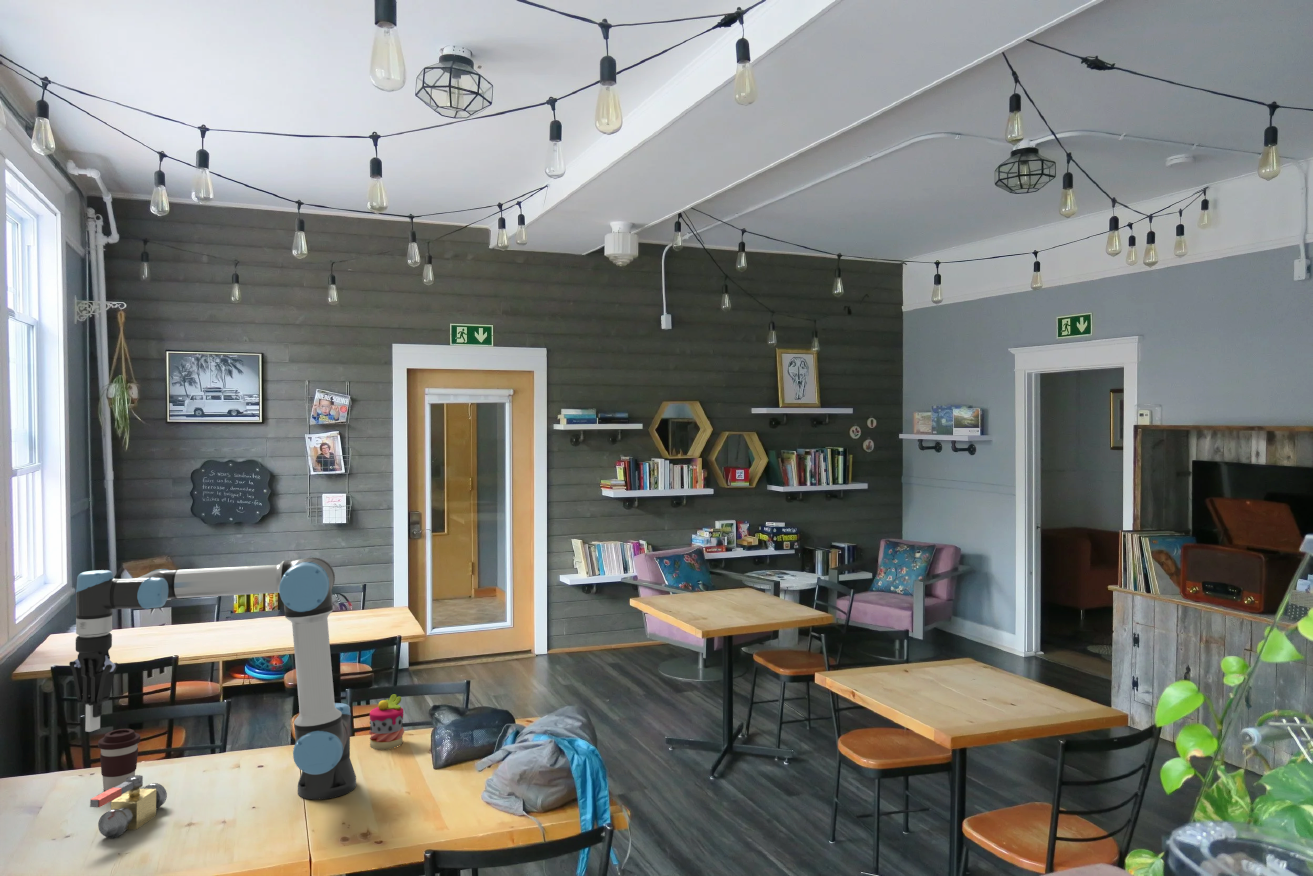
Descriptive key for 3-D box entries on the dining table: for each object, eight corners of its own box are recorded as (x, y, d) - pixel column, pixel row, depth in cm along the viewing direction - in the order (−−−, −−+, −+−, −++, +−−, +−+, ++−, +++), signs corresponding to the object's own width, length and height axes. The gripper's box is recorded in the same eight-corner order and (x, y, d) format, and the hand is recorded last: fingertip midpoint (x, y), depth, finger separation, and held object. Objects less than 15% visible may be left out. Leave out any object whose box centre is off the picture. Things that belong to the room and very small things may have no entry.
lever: (132, 783, 216) (132, 774, 216) (145, 784, 216) (146, 775, 216) (87, 808, 202) (87, 798, 202) (101, 808, 201) (101, 799, 201)
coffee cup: (119, 795, 230) (120, 739, 231) (88, 792, 232) (89, 737, 233) (148, 781, 240) (149, 728, 240) (118, 778, 242) (119, 725, 242)
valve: (145, 805, 224) (145, 772, 224) (169, 805, 224) (170, 773, 224) (94, 840, 204) (94, 804, 204) (120, 840, 204) (121, 804, 204)
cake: (389, 752, 264) (389, 703, 265) (361, 747, 268) (362, 699, 268) (410, 741, 274) (410, 694, 274) (383, 737, 278) (383, 691, 278)
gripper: (59, 635, 209) (57, 732, 209) (101, 639, 205) (99, 737, 205) (87, 629, 216) (86, 722, 216) (128, 632, 213) (126, 727, 212)
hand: (92, 729), depth 210 cm, fingers closed
